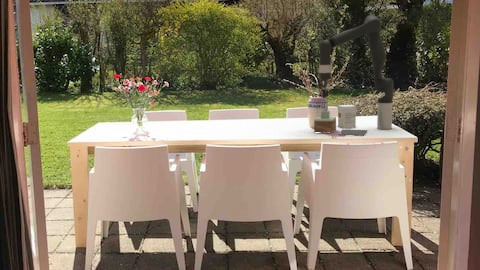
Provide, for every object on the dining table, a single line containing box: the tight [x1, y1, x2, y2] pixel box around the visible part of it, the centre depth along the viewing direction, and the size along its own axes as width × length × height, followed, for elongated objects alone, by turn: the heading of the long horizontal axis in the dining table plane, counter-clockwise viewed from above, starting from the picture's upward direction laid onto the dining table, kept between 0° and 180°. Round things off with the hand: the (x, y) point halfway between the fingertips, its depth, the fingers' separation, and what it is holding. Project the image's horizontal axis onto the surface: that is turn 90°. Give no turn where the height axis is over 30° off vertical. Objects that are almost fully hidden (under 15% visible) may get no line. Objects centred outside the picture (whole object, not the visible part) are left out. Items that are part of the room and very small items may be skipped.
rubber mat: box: [340, 128, 368, 137], centre depth 323 cm, size 18×16×1 cm
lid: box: [314, 110, 337, 121], centre depth 329 cm, size 12×12×6 cm
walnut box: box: [313, 118, 337, 134], centre depth 330 cm, size 12×12×8 cm
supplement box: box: [337, 104, 357, 129], centre depth 345 cm, size 9×9×15 cm
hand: (325, 97), depth 327 cm, fingers open, 8 cm apart
